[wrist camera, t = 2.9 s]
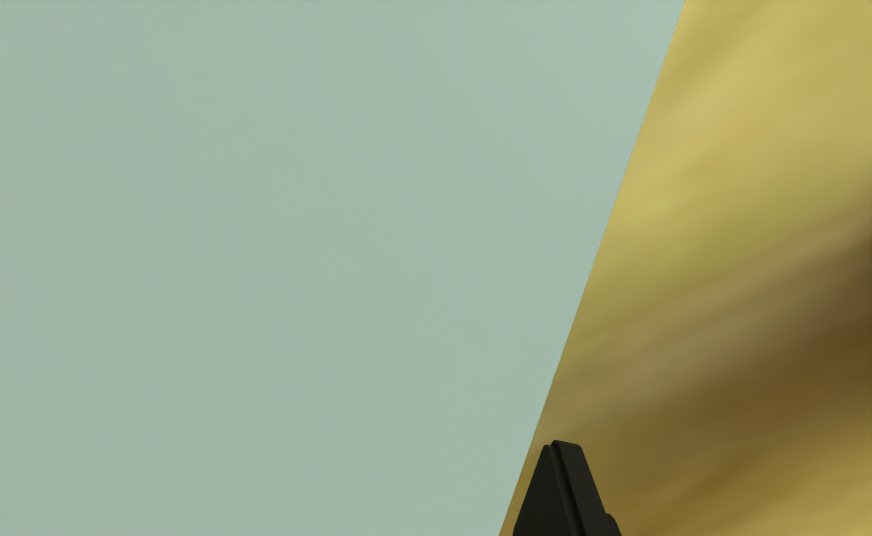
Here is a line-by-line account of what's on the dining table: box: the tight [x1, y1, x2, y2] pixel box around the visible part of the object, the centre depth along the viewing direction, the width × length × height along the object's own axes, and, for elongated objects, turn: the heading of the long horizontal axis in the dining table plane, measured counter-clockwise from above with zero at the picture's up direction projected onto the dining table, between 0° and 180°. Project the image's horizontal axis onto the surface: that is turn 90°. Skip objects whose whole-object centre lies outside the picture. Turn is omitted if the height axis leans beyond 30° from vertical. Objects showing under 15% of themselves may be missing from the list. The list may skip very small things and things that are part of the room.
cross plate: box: [0, 0, 685, 536], centre depth 11 cm, size 16×3×14 cm, turn 168°
